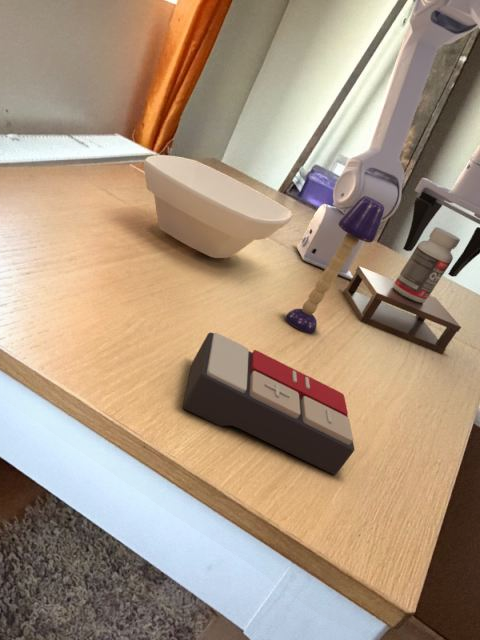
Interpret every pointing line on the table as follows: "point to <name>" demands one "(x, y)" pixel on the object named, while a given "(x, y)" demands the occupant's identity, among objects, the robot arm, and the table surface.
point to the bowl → (209, 206)
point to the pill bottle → (426, 266)
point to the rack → (399, 311)
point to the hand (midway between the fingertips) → (429, 262)
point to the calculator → (269, 402)
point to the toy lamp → (340, 257)
